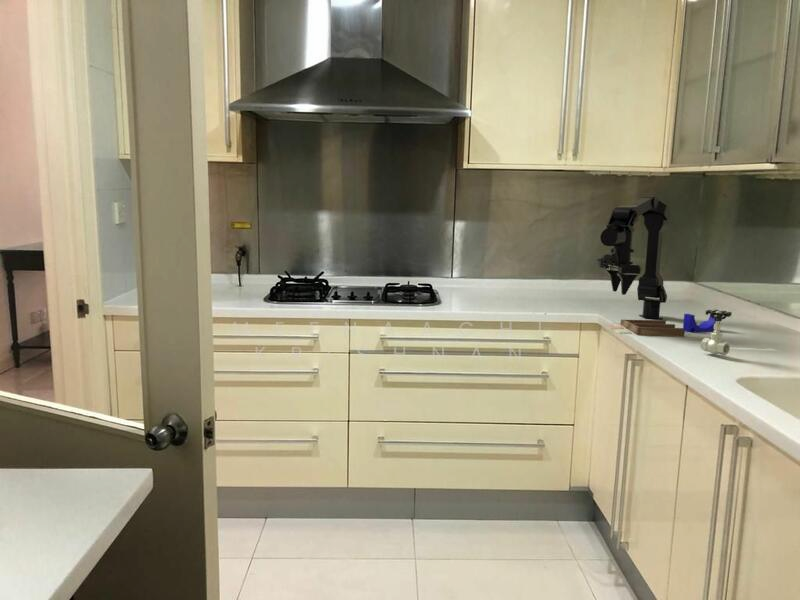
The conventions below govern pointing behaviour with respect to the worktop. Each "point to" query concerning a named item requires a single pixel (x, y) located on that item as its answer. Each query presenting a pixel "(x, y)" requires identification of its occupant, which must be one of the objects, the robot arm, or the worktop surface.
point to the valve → (716, 335)
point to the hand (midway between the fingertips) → (619, 292)
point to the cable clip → (693, 327)
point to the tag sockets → (649, 328)
